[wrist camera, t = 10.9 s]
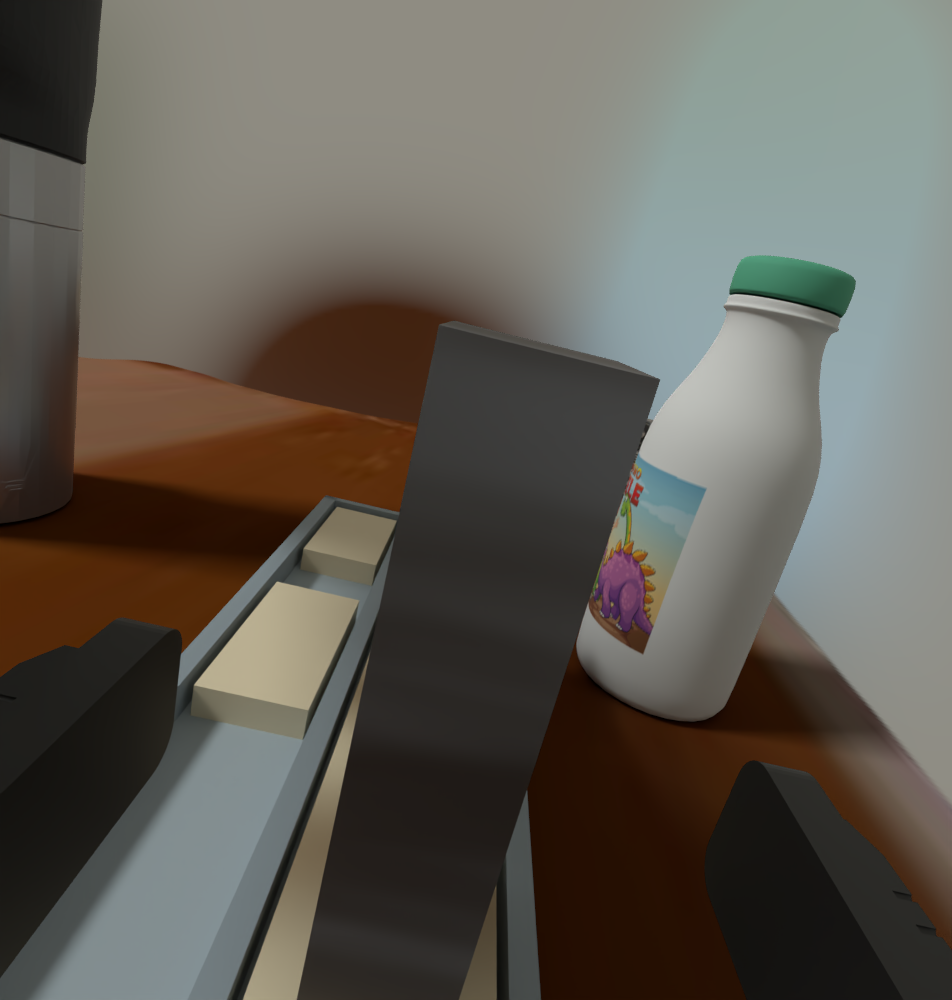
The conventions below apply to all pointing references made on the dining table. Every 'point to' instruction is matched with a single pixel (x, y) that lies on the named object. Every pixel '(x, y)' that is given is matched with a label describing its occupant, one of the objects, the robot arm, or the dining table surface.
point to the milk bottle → (716, 499)
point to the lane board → (244, 791)
